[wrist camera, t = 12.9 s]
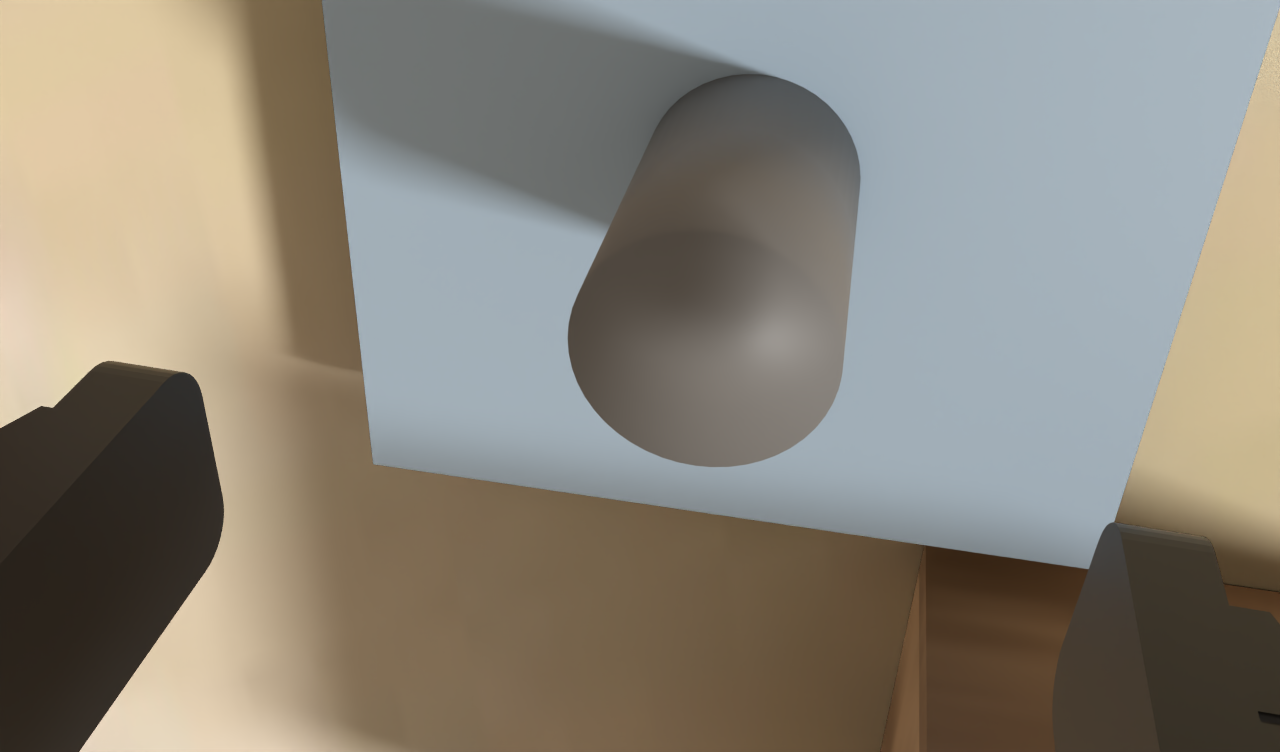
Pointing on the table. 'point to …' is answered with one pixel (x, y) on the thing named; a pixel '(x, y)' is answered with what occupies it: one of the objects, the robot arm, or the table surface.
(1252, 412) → the table surface
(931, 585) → the box
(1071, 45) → the lid
